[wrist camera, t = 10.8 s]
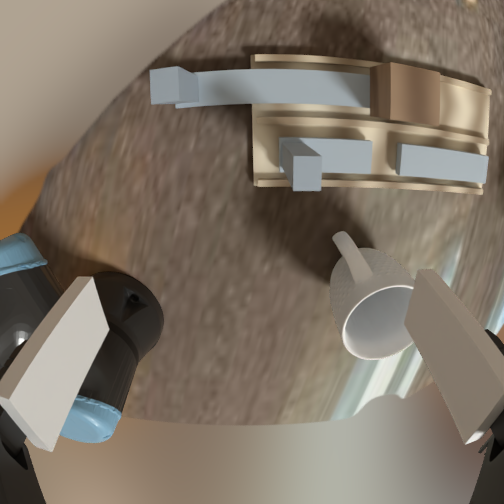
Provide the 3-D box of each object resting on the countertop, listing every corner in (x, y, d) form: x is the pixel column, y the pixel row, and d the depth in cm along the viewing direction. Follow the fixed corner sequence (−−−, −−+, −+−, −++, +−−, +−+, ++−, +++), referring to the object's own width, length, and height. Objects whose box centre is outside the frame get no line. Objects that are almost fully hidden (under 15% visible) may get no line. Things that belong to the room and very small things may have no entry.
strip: (178, 108, 34) (148, 110, 23) (177, 75, 32) (146, 65, 22) (422, 115, 33) (475, 124, 23) (422, 85, 32) (476, 85, 21)
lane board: (253, 184, 39) (253, 187, 37) (250, 56, 32) (250, 53, 30) (477, 191, 39) (484, 195, 37) (486, 89, 32) (493, 90, 30)
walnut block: (369, 116, 33) (390, 119, 27) (369, 67, 30) (390, 62, 24) (413, 121, 32) (439, 126, 27) (414, 74, 30) (440, 72, 24)
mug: (292, 238, 42) (307, 292, 30) (363, 195, 40) (405, 235, 28) (339, 312, 48) (361, 373, 36) (401, 277, 45) (438, 330, 33)
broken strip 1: (278, 170, 37) (289, 196, 27) (278, 136, 35) (289, 150, 25) (366, 171, 37) (406, 198, 27) (368, 140, 35) (410, 155, 25)
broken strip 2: (395, 173, 37) (399, 175, 36) (397, 142, 35) (402, 144, 34) (479, 180, 37) (485, 183, 35) (483, 154, 35) (488, 156, 34)
